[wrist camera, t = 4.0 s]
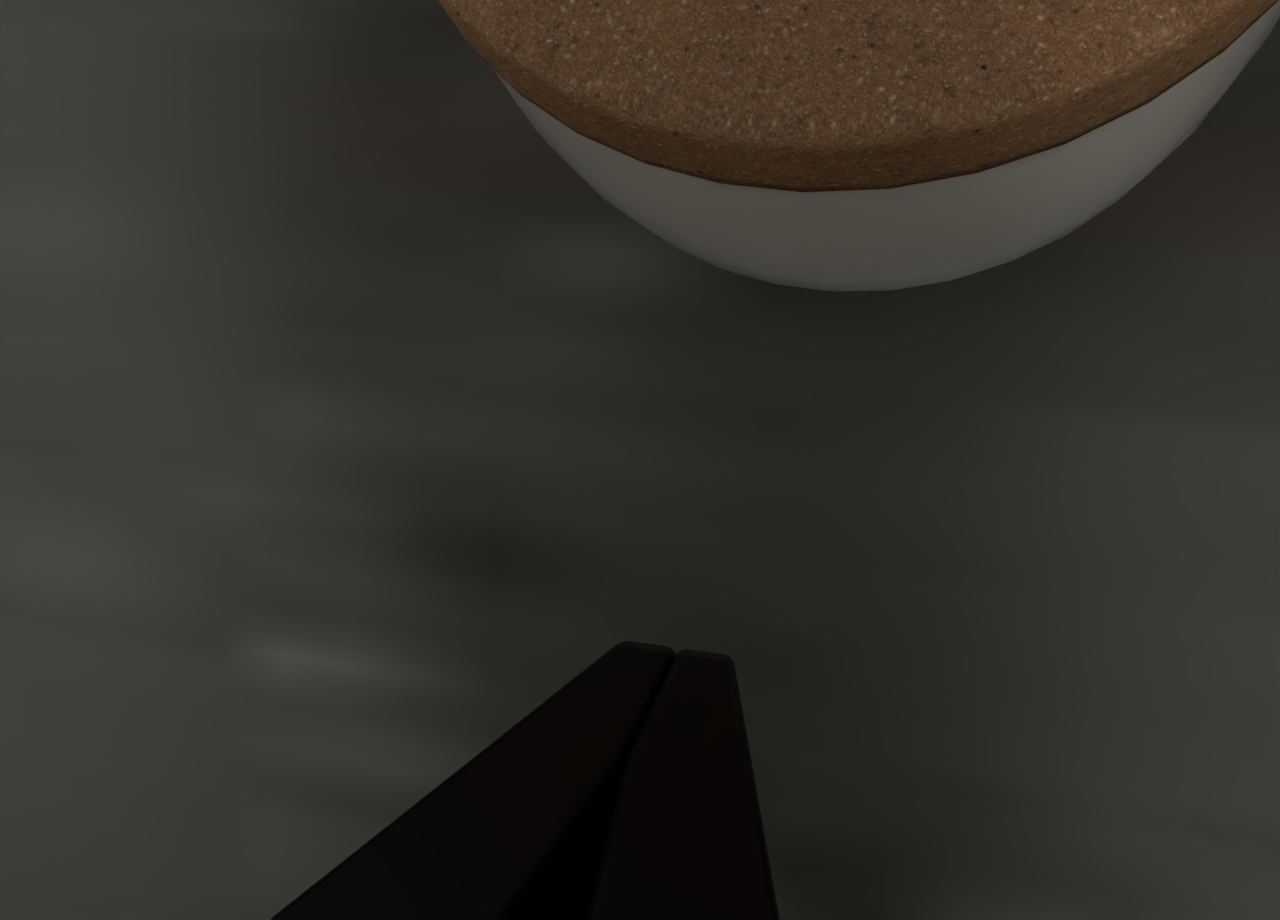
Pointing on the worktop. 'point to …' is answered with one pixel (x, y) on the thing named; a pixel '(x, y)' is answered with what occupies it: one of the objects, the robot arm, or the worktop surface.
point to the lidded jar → (864, 119)
